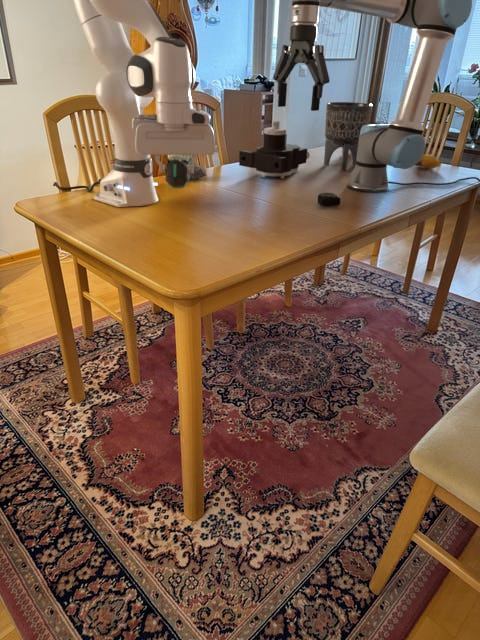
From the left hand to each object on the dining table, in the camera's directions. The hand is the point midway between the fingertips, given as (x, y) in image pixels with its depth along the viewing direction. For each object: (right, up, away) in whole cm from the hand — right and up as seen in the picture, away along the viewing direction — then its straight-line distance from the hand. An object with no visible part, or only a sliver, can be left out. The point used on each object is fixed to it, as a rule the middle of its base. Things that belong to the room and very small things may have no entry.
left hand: (177, 172), depth 118 cm
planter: (+64, +32, +92) cm, 117 cm away
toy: (+104, +33, +95) cm, 144 cm away
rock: (-3, +19, +66) cm, 68 cm away
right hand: (+34, +25, +18) cm, 46 cm away
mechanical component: (+34, +25, +78) cm, 89 cm away
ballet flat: (0, +2, +9) cm, 9 cm away
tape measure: (+47, 0, +35) cm, 58 cm away
